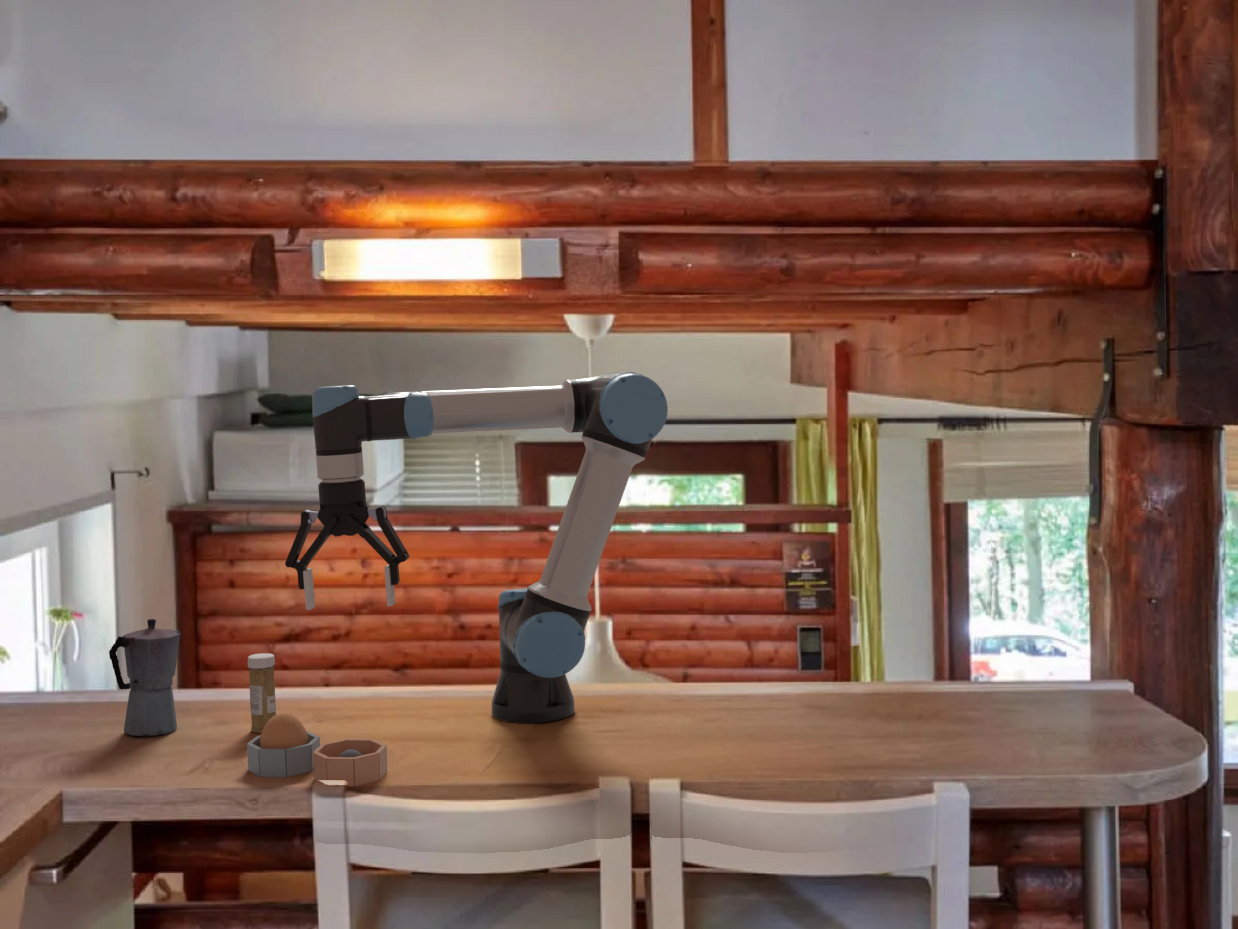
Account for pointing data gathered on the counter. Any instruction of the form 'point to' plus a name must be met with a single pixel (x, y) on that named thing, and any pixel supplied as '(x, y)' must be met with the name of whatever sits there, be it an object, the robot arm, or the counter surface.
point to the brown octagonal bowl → (351, 761)
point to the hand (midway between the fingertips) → (350, 606)
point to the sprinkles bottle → (261, 690)
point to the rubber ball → (350, 753)
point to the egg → (283, 732)
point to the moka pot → (148, 679)
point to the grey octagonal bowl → (281, 758)
